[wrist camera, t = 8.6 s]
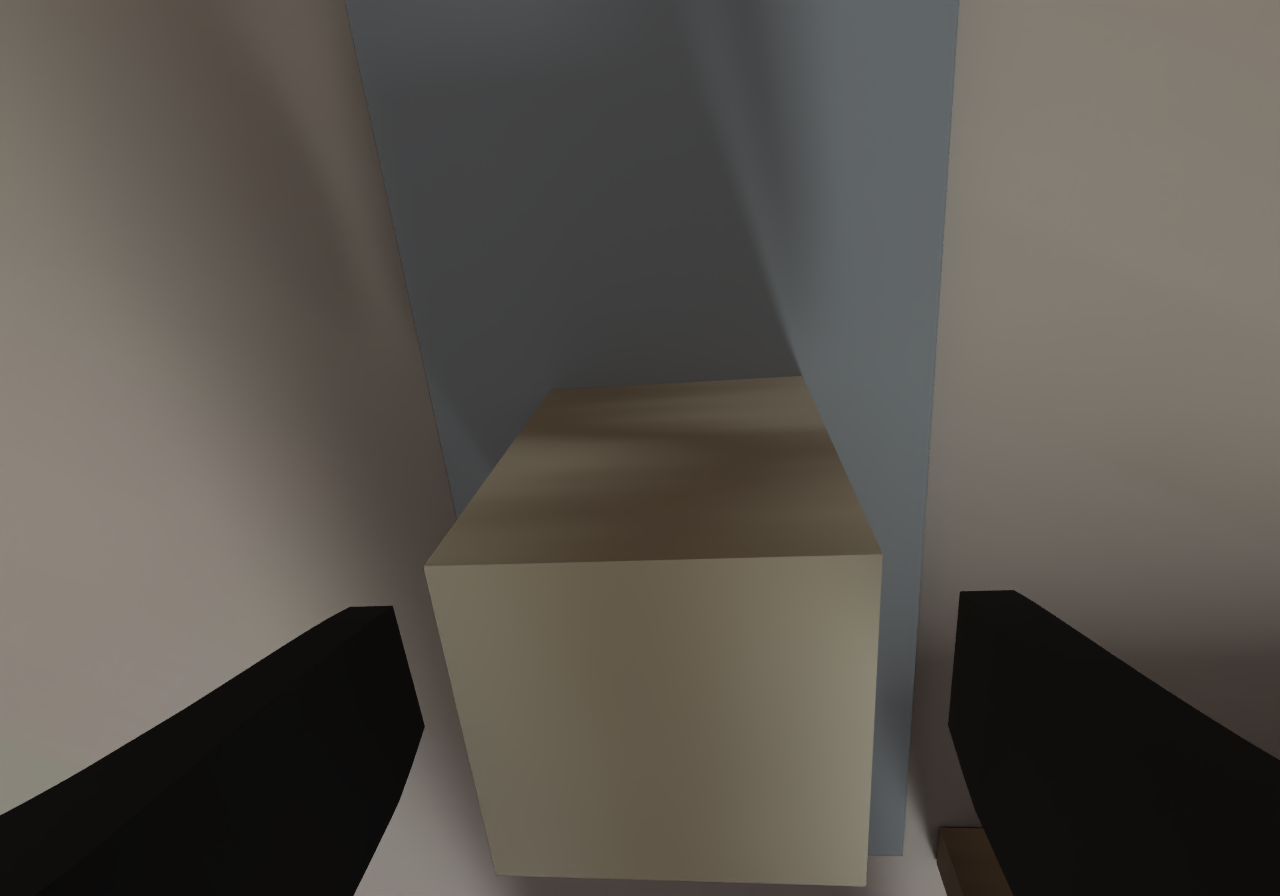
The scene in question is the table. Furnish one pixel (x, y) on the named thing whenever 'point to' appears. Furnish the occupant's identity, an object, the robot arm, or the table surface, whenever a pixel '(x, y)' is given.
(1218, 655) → the table surface
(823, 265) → the mat
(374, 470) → the table surface
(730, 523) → the block
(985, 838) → the wooden u-shaped frame
